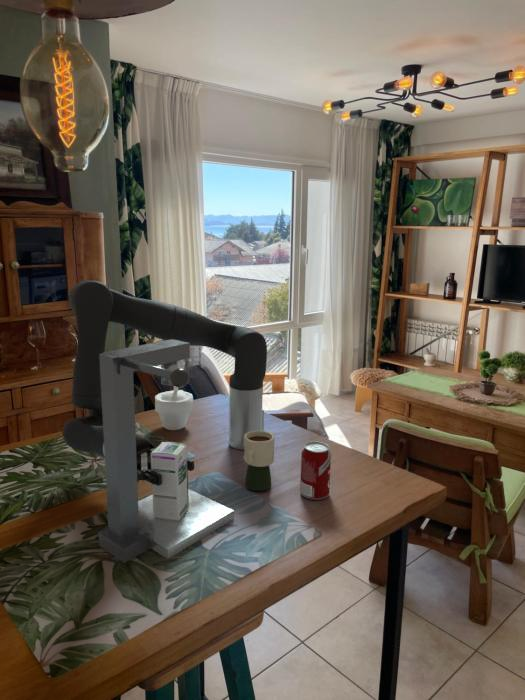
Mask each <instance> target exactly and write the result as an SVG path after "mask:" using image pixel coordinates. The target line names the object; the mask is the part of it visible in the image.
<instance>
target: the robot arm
mask: <svg viewBox="0 0 525 700" xmlns="http://www.w3.org/2000/svg"><path fill="white" fill-rule="evenodd" d="M68 304H69V306H70V308H71V310H72V311H73V313H75V315H76V325H77V346H76V347H77V348H76V354H75V358H74V364H73V370H72V371H73V374H72V391H71V393H72V395H71V401H72V405H73V406H74V407H76V408H78V409H84V410H85V409H86V410H87V411H88V416H82V417H76V418H72V419H69V420H68V421H67V422H66V423H65V424H64V425H63V428H62V437H63V441H64V442H65V444H66V445H67V446H68V447H69V448H71V449H73V450H76V451H78V452H84V453H89V454H90V453H91V454H96V455H99V456H101V457H103V458H105V452H104V433H103V414H102V395H101V377H100V358H99V354H102V353H103V352H106V351H105V350H106V340H107V335H108V334H107V333H108V328H109V324H110V323H115V324H118V325H119V324H120V325H124V326H126V327H129V328H131V329H134V330H136V331H138V332H140V333H141V334H142V333H143V334H144V335H145V334H146V335H147V336H151V337H153V338H156V339H159V340H161V341H165V340H170V339H174V340H179V341H183V342H187V343H190V346H191V347H192V346H193V347H206V348H210V349H213V350H216V351H219V352H222V353H224V354H227V355H228V356H230V357H232V358H234V368H233V369H234V372H233V373H231V375H230V376H229V384H228V385H229V395H228V396H229V403H228V404H229V405H228V406H229V409H228V410H229V411H228V412H229V414H228V415H229V417H228V419H229V420H228V421H229V424H228V426H229V427H228V431H229V432H228V435H229V437H228V441H229V442H228V444H229V446H230V447H231V448H233V449H235V450H241V451H244V450H245V448H244V435H245V434H246V433H248V432H251V431H265V430H264V429H265V410H264V409H263V395H264V394H263V393H264V392H263V390H264V389H263V388H264V380H265V377H266V374H267V359H268V346H267V341H266V338H265V336H264V335H263V334H261V332H259V331H257V330H254V329H252V328H250V327H247V326H243V325H234V324H229V323H224V322H219V321H217V320H214V319H211V318H209V317H206V316H204V315H203V314H200V313H197V312H195V311H192V310H190V309H187V308H183V307H181V306H178V305H175V304H170V303H167V302H163V301H158V300H152V299H146V298H140V297H134V296H130V295H127V294H124V293H122V292H119V291H118V290H117V291H116V290H114V289H111V288H109V287H108V286H107V285H106V284H104V282H102V281H98V280H91V279H87V280H82V281H80V282H78V283H76V284H75V285H74V286H73V287H72V288H71V289H70V291H69V294H68ZM156 448H157V447H155V446H154V444H153V443H152V442H151V441H150V440H149V439H147V438H145V437H142V436H139V435H137V434H136V459H137V484H139V481H141V482H147V483H150V484H151V485H152V484H154V485H157V486H159V485H162V476H161V474H159V473H157V472H154V471H152V470H151V452H153V451H154V450H155V449H156ZM187 461H188V472H192V471H194V470H195V460H194V459H191V458H189V457H187Z"/></svg>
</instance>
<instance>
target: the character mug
mask: <svg viewBox="0 0 525 700" xmlns="http://www.w3.org/2000/svg"><path fill="white" fill-rule="evenodd" d="M275 441H276V439H275V435H274V434H273V433H271V432H270V431H266V430H264V431H251V432H248V433H246V434H245V435H244V448H245V450H243V451H244V453H243V460H244V462H245V464H247V469H246V475H245V483H244V485H245V488H246V489H247V490H251V491H266V490H270V488H271V487H272V477H271V476H272V474H271V468H270V466H271V465H272V464H273V463H274V460H275Z"/></svg>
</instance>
